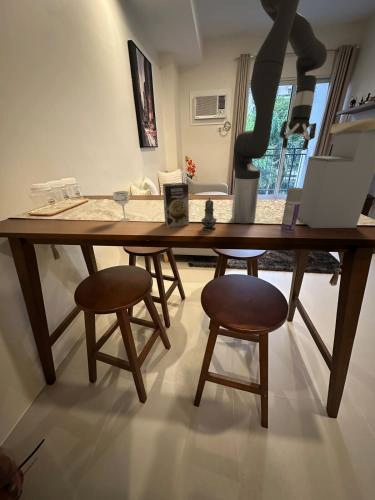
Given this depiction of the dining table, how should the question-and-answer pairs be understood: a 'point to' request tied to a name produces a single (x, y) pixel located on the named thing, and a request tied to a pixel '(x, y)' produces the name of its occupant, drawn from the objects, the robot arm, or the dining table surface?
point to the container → (291, 209)
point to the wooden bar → (354, 125)
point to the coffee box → (176, 204)
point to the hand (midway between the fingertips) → (294, 149)
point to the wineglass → (122, 201)
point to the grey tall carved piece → (209, 217)
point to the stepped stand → (339, 181)
